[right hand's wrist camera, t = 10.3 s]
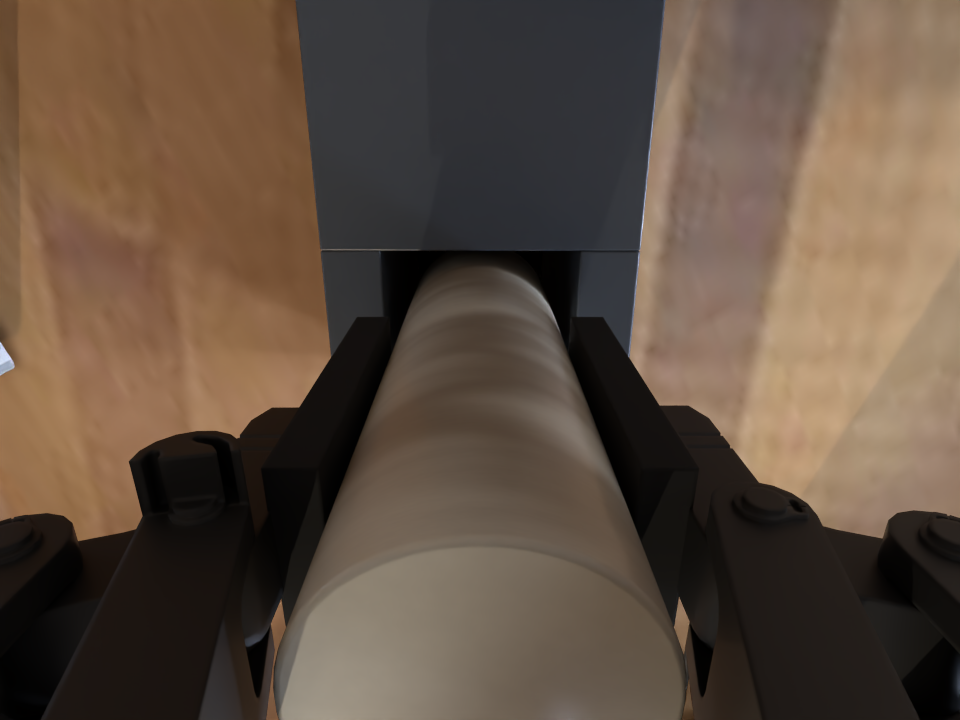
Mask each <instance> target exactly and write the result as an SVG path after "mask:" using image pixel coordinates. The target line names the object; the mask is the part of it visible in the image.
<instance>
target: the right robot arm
mask: <svg viewBox="0 0 960 720" xmlns="http://www.w3.org/2000/svg"><path fill="white" fill-rule="evenodd" d="M390 356H391V338H390V321H389V317H357V318H356V319H355V321H354V322H353V324H352V325H351V327H350V329H349V330H348V332H347V333H346V335H345V336H344V338H343V340H342V341H341V343H340V344H339V346H338V347H337V349H336V351H335V352H334V354H333V355H332V357H331V358H330V360H329V362H328V363H327V365H326V366H325V368H324V370H323V371H322V373H321V374H320V376H319V377H318V379H317V381H316V382H315V384H314V385H313V387H312V388H311V390H310V392H309V393H308V395H307V396H306V398H305V399H304V401H303V403H302V404H301V406H300V407H299V408H271V409H269V410H267V411H266V412H264V413H263V414H261V415H259V416H258V417H256V418H254V419H253V420H251V421H250V423H249V424H248V425H247V427H246V428H245V429H244V431H243V432H242V433H241V434H240V438H237V439H236V438H235V437H234V436H232V435H231V434H227V433H223V432H218V431H195V432H189V433H184V434H178V435H174V436H171V437H168V438H165V439H162V440H160V441H157V442H155V443H153V444H151V445H149V446H147V447H146V448H144V449H142V450H140V451H139V452H138V453H137V454H136V455H135V456H134V457H133V458H132V459H131V460H130V461H129V464H130V468H131V471H132V475H133V479H134V483H135V487H136V491H137V495H138V499H139V503H140V507H141V511H142V515H143V517H142V519H141V521H140V523H139V525H138V527H137V529H136V530H132V531H128V532H124V533H119V534H114V535H108V536H103V537H98V538H93V539H88V540H83V541H78V540H77V537H76V533H75V530H74V527H73V524H72V522H70V521H69V520H68V519H67V518H65V517H64V516H61V515H55V514H49V513H45V514H34V515H23V516H18V517H14V519H11V518H9V519H6V520H3V521H0V720H266V716H267V707H268V699H269V691H270V683H271V675H272V667H273V659H274V651H275V648H274V641H273V635H272V629H271V622H272V619H273V617H274V615H275V612H276V610H277V607H278V605H279V603H280V600H281V599H282V605H283V612H284V618H285V624H286V626H287V624H288V622H289V619H290V616H291V614H292V611H293V609H294V606H295V603H296V601H297V598H298V596H299V593H300V590H301V588H302V585H303V583H304V580H305V577H306V575H307V572H308V570H309V567H310V564H311V562H312V559H313V557H314V554H315V551H316V549H317V546H318V544H319V541H320V538H321V536H322V533H323V531H324V528H325V525H326V523H327V520H328V518H329V515H330V512H331V510H332V507H333V505H334V502H335V499H336V497H337V494H338V492H339V489H340V486H341V484H342V481H343V479H344V476H345V473H346V471H347V468H348V466H349V463H350V460H351V458H352V455H353V453H354V450H355V447H356V445H357V442H358V440H359V437H360V434H361V432H362V429H363V427H364V424H365V421H366V419H367V416H368V414H369V411H370V408H371V406H372V403H373V401H374V398H375V395H376V393H377V390H378V388H379V385H380V382H381V380H382V377H383V374H384V372H385V369H386V367H387V364H388V361H389V359H390ZM569 356H570V359H571V361H572V364H573V367H574V369H575V372H576V374H577V377H578V380H579V382H580V385H581V387H582V390H583V393H584V395H585V398H586V400H587V403H588V406H589V408H590V411H591V413H592V416H593V419H594V421H595V424H596V426H597V429H598V432H599V434H600V437H601V439H602V442H603V445H604V447H605V450H606V452H607V455H608V458H609V460H610V463H611V465H612V468H613V471H614V473H615V476H616V478H617V481H618V484H619V486H620V489H621V491H622V494H623V497H624V499H625V502H626V504H627V507H628V510H629V512H630V515H631V517H632V520H633V523H634V525H635V528H636V530H637V533H638V536H639V538H640V541H641V544H642V546H643V549H644V551H645V554H646V557H647V559H648V562H649V564H650V567H651V570H652V572H653V575H654V577H655V580H656V583H657V585H658V588H659V590H660V593H661V596H662V598H663V601H664V603H665V606H666V609H667V611H668V614H669V616H670V619H671V622H672V624H673V626H674V624H675V618H676V611H677V605H678V599H679V597H680V600H681V602H682V604H683V607H684V609H685V611H686V614H687V616H688V619H689V621H690V623H689V629H688V635H687V641H686V646H685V652H684V661H685V667H686V673H687V680H686V690H687V686H688V680H689V682H690V690H691V698H692V706H693V714H694V720H960V518H958V517H954V516H951V515H950V516H947V514H942V513H937V512H924V511H907V512H901V513H897V514H896V515H894V516H893V517H892V518H891V519H889V520H888V524H887V527H886V530H885V533H884V536H883V539H881V538H876V537H871V536H866V535H861V534H855V533H850V532H845V531H840V530H835V529H831V528H827V527H823V526H822V524H821V522H820V520H819V518H818V516H817V514H816V513H815V512H814V511H813V510H812V508H811V507H810V506H809V505H808V504H807V503H806V502H804V501H803V500H801V499H800V498H798V497H797V496H795V495H794V494H792V493H790V492H787V491H785V490H782V489H780V488H777V487H775V486H772V485H767V484H762V483H759V482H758V481H757V480H756V478H755V477H754V476H753V474H752V473H751V472H750V471H749V469H748V468H747V467H746V465H745V464H744V463H743V462H742V460H741V459H740V458H739V456H738V455H737V454H736V453H735V451H734V450H733V449H732V448H730V445H729V444H728V442H727V441H726V440H725V438H724V437H723V436H720V432H719V431H718V429H717V428H716V427H715V426H714V424H713V423H712V422H711V420H710V419H709V418H708V417H706V416H704V415H703V414H701V413H699V412H698V411H696V410H694V409H693V408H691V407H690V406H659V404H658V403H657V401H656V399H655V398H654V396H653V395H652V393H651V392H650V390H649V388H648V387H647V385H646V384H645V382H644V381H643V379H642V377H641V376H640V374H639V373H638V371H637V370H636V368H635V366H634V365H633V363H632V362H631V360H630V359H629V357H628V355H627V354H626V352H625V351H624V349H623V348H622V346H621V344H620V343H619V341H618V340H617V338H616V337H615V335H614V333H613V332H612V330H611V329H610V327H609V325H608V324H607V322H606V321H605V319H604V318H603V317H571V320H570V337H569Z"/></svg>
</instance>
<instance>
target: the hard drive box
mask: <svg viewBox="0 0 960 720" xmlns="http://www.w3.org/2000/svg"><path fill="white" fill-rule="evenodd" d="M14 367H15V366H14V362H13V360H12V359H11V357H10V356H9V354H8V353H7V351H6V350H5V348H4V347H3V345H2V344H1V342H0V375H2V374H4V373H5V372H7V371H9V370H11V369H13V368H14Z"/></svg>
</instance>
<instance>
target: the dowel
mask: <svg viewBox="0 0 960 720" xmlns="http://www.w3.org/2000/svg"><path fill="white" fill-rule="evenodd" d="M686 680H687V673H686V667H685V661H684V654H683V652H682V649H681V646H680V643H679V640H678V637H677V635H676V632H675V629H674V627H673V624H672V622H671V619H670V616H669V614H668V611H667V609H666V606H665V603H664V601H663V598H662V596H661V593H660V590H659V588H658V585H657V583H656V580H655V577H654V575H653V572H652V570H651V567H650V564H649V562H648V559H647V557H646V554H645V551H644V549H643V546H642V544H641V541H640V538H639V536H638V533H637V530H636V528H635V525H634V523H633V520H632V517H631V515H630V512H629V510H628V507H627V504H626V502H625V499H624V497H623V494H622V491H621V489H620V486H619V484H618V481H617V478H616V476H615V473H614V471H613V468H612V465H611V463H610V460H609V458H608V455H607V452H606V450H605V447H604V445H603V442H602V439H601V437H600V434H599V432H598V429H597V426H596V424H595V421H594V419H593V416H592V413H591V411H590V408H589V406H588V403H587V400H586V398H585V395H584V393H583V390H582V387H581V385H580V382H579V380H578V377H577V374H576V372H575V369H574V367H573V364H572V361H571V359H570V356H569V354H568V351H567V348H566V346H565V343H564V341H563V338H562V335H561V333H560V330H559V328H558V325H557V322H556V320H555V317H554V315H553V312H552V309H551V307H550V304H549V302H548V299H547V296H546V294H545V291H544V289H543V286H542V283H541V281H540V279H539V277H538V275H537V273H536V272H535V271H534V269H533V268H532V267H531V265H530V264H529V263H528V262H527V261H526V260H525V259H523V258H522V257H521V256H520V255H518V254H517V253H515V252H513V251H447V252H445V253H443V254H442V255H441V256H439V257H438V258H436V259H435V260H434V261H433V262H432V263H431V264H430V265H429V267H428V268H427V269H426V271H425V272H424V274H423V275H422V277H421V279H420V281H419V284H418V286H417V289H416V291H415V294H414V296H413V299H412V302H411V304H410V307H409V309H408V312H407V315H406V317H405V320H404V322H403V325H402V328H401V330H400V333H399V335H398V338H397V341H396V343H395V346H394V348H393V351H392V354H391V356H390V359H389V361H388V364H387V367H386V369H385V372H384V374H383V377H382V380H381V382H380V385H379V388H378V390H377V393H376V395H375V398H374V401H373V403H372V406H371V408H370V411H369V414H368V416H367V419H366V421H365V424H364V427H363V429H362V432H361V434H360V437H359V440H358V442H357V445H356V447H355V450H354V453H353V455H352V458H351V460H350V463H349V466H348V468H347V471H346V473H345V476H344V479H343V481H342V484H341V486H340V489H339V492H338V494H337V497H336V499H335V502H334V505H333V507H332V510H331V512H330V515H329V518H328V520H327V523H326V525H325V528H324V531H323V533H322V536H321V538H320V541H319V544H318V546H317V549H316V551H315V554H314V557H313V559H312V562H311V564H310V567H309V570H308V572H307V575H306V577H305V580H304V583H303V585H302V588H301V590H300V593H299V596H298V598H297V601H296V603H295V606H294V609H293V611H292V614H291V616H290V619H289V622H288V624H287V627H286V630H285V632H284V635H283V637H282V640H281V643H280V645H279V648H278V652H277V657H276V661H275V666H274V683H273V689H274V697H275V704H276V710H277V715H278V718H279V720H681V719H682V714H683V710H684V705H685V700H686Z"/></svg>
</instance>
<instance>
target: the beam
mask: <svg viewBox="0 0 960 720" xmlns="http://www.w3.org/2000/svg"><path fill="white" fill-rule="evenodd" d="M296 9H297V19H298V29H299V39H300V49H301V59H302V69H303V79H304V89H305V99H306V109H307V119H308V129H309V139H310V149H311V159H312V169H313V179H314V189H315V199H316V209H317V219H318V229H319V239H320V249H321V250H322V251H321V259H322V269H323V279H324V289H325V300H326V310H327V320H328V330H329V340H330V350H331V357H332V355H333V354H334V352H335V351H336V349H337V347H338V346H339V344H340V343H341V341H342V340H343V338H344V336H345V335H346V333H347V332H348V330H349V329H350V327H351V325H352V324H353V322H354V321H355V319H356V318H357V317H389V321H390V338H391V354H392V351H393V348H394V346H395V343H396V341H397V338H398V335H399V333H400V330H401V328H402V325H403V322H404V320H405V317H406V315H407V312H408V309H409V307H410V304H411V302H412V299H413V296H414V294H415V291H416V289H417V286H418V284H419V265H418V251H543V257H542V286H543V289H544V291H545V294H546V296H547V299H548V302H549V304H550V307H551V309H552V312H553V315H554V317H555V320H556V322H557V325H558V328H559V330H560V333H561V335H562V338H563V341H564V343H565V346H566V348H567V351H568V354H569V337H570V320H571V317H603V318H604V319H605V321H606V322H607V324H608V325H609V327H610V329H611V330H612V332H613V333H614V335H615V337H616V338H617V340H618V341H619V343H620V344H621V346H622V348H623V349H624V351H625V352H626V354H627V355H628V357H629V356H630V346H631V336H632V326H633V316H634V306H635V296H636V286H637V277H638V267H639V257H640V252H639V251H638V250H640V248H641V238H642V228H643V218H644V208H645V198H646V188H647V178H648V168H649V158H650V148H651V138H652V128H653V118H654V108H655V99H656V89H657V79H658V69H659V59H660V49H661V39H662V29H663V19H664V9H665V0H296Z"/></svg>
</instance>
